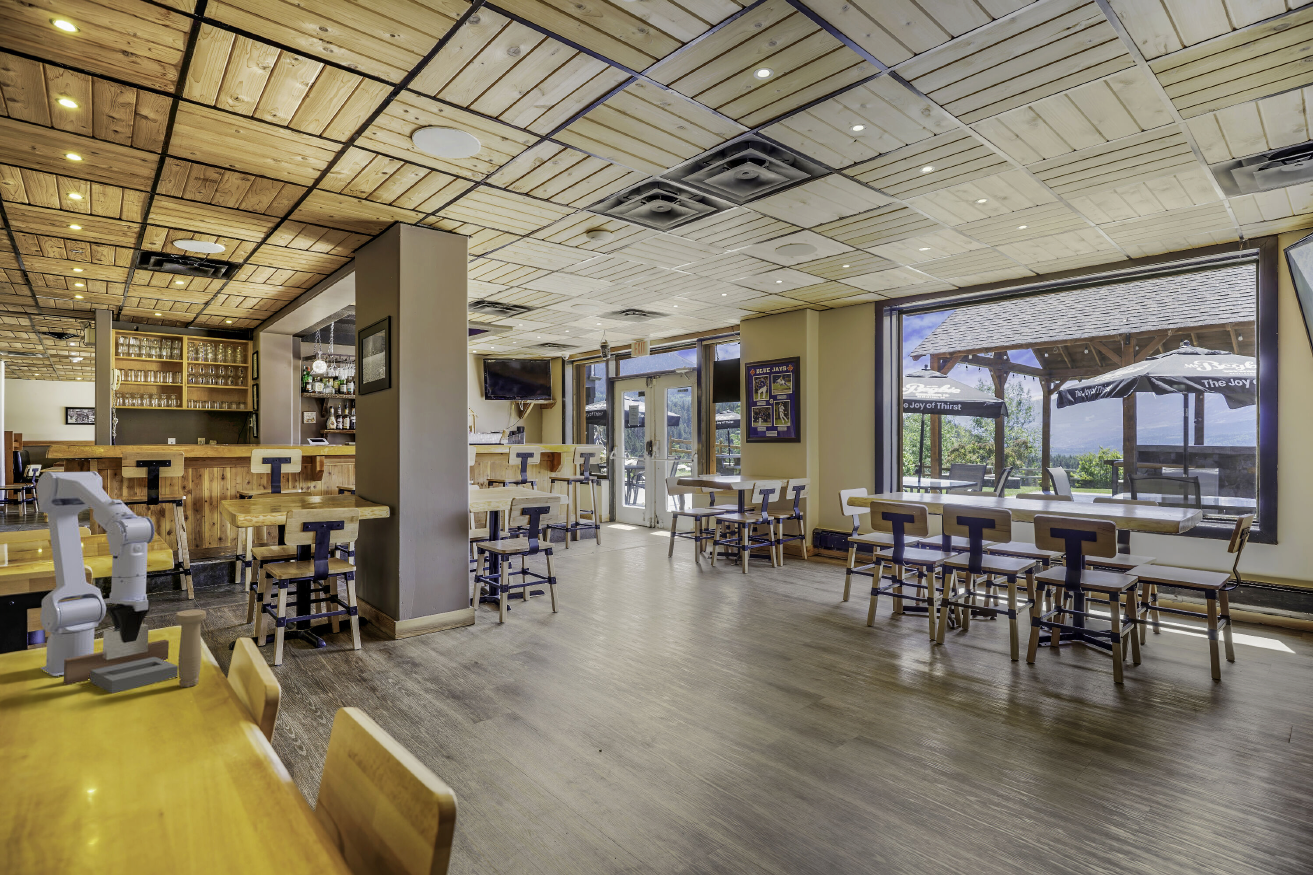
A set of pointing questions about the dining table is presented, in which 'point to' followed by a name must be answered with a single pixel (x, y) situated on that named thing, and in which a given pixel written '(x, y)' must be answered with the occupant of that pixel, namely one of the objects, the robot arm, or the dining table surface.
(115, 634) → the white wooden block
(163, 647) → the brown long flat block
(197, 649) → the handle
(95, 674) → the slotted grey plate
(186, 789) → the dining table surface
